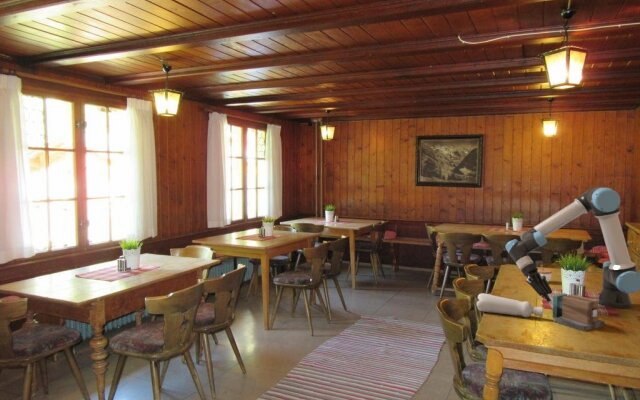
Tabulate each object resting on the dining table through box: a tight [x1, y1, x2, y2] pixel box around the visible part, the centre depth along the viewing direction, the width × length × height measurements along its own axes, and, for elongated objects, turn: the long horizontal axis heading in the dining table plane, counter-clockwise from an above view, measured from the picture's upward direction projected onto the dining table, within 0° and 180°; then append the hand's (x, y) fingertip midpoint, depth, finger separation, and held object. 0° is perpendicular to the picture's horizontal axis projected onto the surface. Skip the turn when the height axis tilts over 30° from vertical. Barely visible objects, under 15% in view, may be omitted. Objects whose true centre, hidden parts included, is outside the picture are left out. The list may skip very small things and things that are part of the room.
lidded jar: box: [538, 267, 553, 283], centre depth 298 cm, size 11×11×9 cm
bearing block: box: [554, 294, 605, 332], centre depth 217 cm, size 16×14×12 cm
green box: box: [552, 293, 597, 319], centre depth 218 cm, size 8×18×11 cm, turn 29°
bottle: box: [476, 292, 544, 319], centre depth 231 cm, size 9×9×30 cm
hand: (555, 306), depth 227 cm, fingers closed
